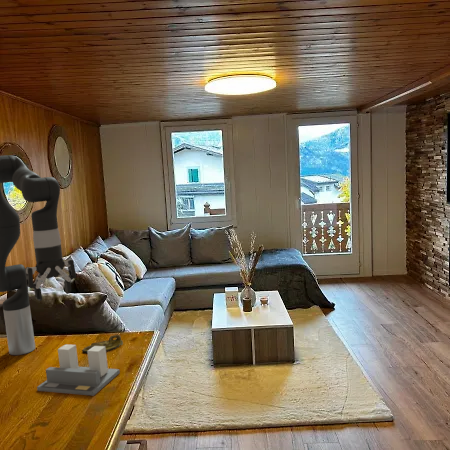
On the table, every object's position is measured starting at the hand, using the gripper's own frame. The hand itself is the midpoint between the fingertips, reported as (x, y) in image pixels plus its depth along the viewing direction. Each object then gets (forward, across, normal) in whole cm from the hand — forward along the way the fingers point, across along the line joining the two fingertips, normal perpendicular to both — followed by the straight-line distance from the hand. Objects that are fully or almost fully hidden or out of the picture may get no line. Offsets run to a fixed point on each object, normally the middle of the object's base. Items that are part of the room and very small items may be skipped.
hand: (54, 296), depth 137 cm
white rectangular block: (+27, -4, -5) cm, 28 cm away
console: (+29, -5, +1) cm, 29 cm away
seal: (+29, -22, -19) cm, 42 cm away
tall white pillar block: (+27, -10, +4) cm, 29 cm away
